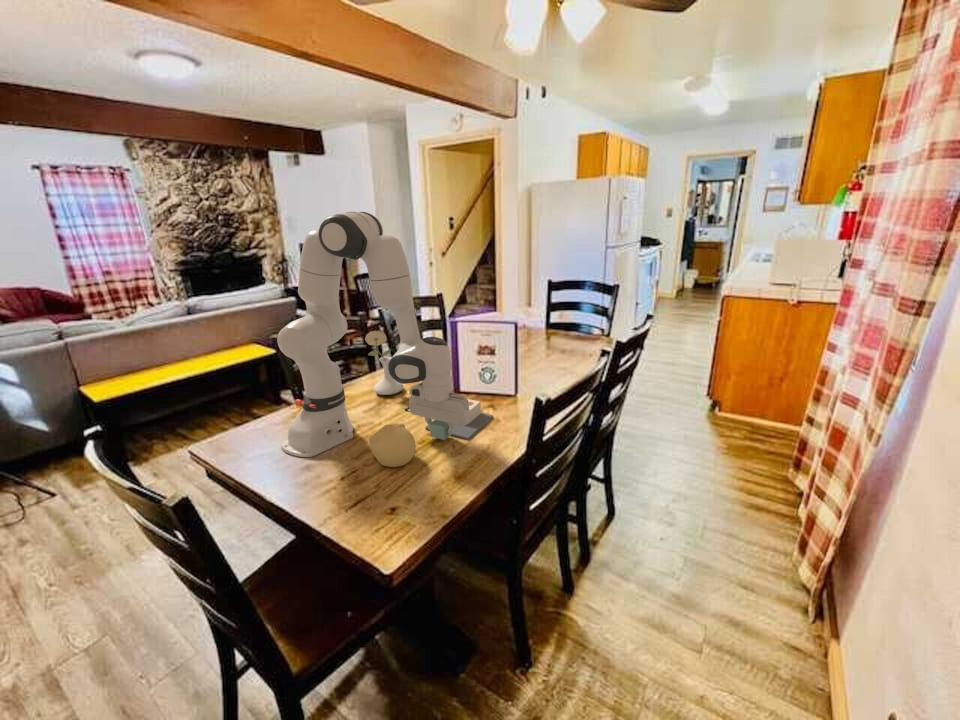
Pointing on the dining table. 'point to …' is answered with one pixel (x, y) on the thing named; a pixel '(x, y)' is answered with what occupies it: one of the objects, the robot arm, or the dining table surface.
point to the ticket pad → (471, 422)
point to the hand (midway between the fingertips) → (440, 431)
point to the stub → (439, 429)
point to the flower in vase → (387, 383)
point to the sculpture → (393, 445)
